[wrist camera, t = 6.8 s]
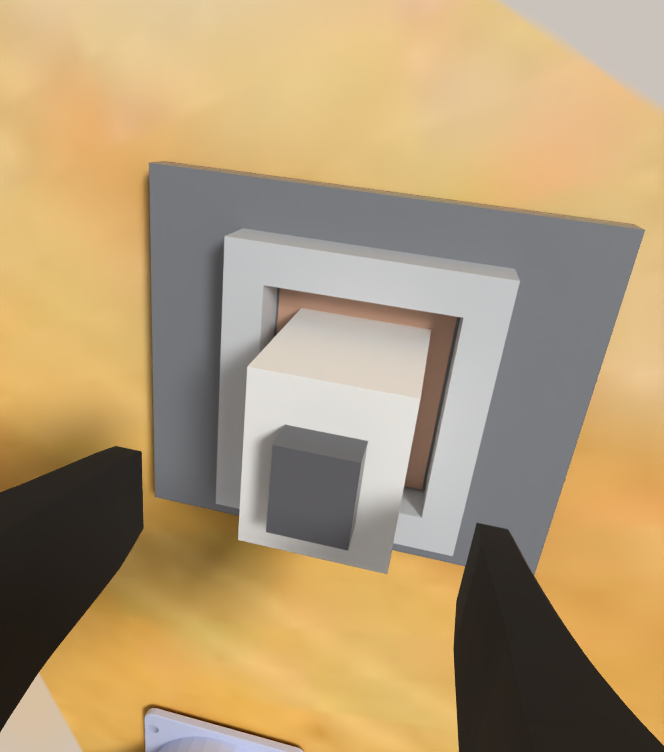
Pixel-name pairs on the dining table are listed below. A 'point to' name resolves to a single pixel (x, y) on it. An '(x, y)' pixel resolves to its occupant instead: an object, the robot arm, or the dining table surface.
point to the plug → (330, 436)
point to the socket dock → (393, 305)
